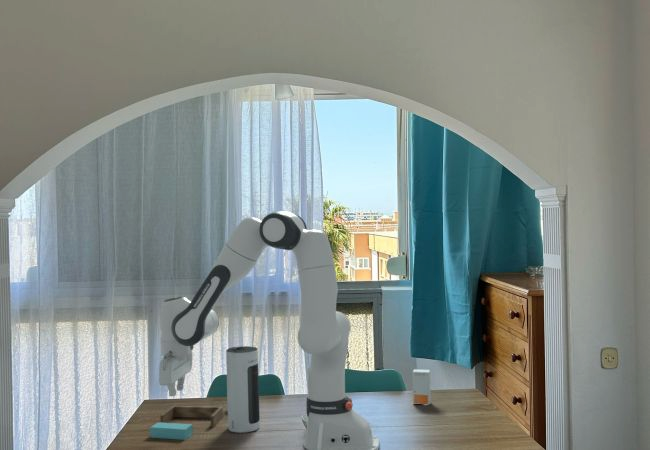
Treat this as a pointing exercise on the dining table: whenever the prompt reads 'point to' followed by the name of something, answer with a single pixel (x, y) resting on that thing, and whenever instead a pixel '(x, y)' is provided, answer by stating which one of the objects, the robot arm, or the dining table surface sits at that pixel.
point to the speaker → (242, 389)
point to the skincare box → (421, 387)
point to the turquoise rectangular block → (171, 431)
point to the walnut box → (193, 413)
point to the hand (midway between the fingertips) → (176, 392)
